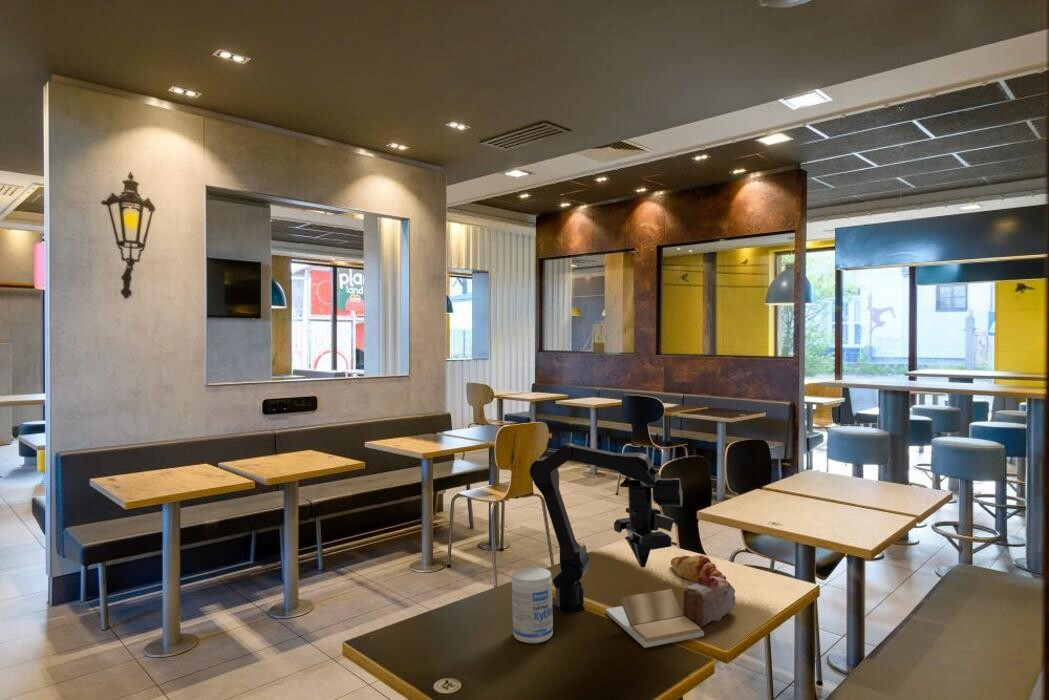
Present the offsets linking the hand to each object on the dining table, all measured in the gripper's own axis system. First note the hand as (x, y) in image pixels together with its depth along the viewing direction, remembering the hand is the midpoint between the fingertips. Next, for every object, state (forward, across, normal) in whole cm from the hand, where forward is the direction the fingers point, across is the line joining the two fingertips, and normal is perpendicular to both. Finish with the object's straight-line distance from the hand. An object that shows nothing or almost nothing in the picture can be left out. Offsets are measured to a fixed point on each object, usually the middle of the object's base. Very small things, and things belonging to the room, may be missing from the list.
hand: (642, 566), depth 158 cm
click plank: (+9, -4, +1) cm, 10 cm away
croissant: (+13, +18, -28) cm, 36 cm away
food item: (+13, -6, -14) cm, 20 cm away
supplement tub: (+12, +1, +30) cm, 32 cm away
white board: (+12, -5, +1) cm, 13 cm away
